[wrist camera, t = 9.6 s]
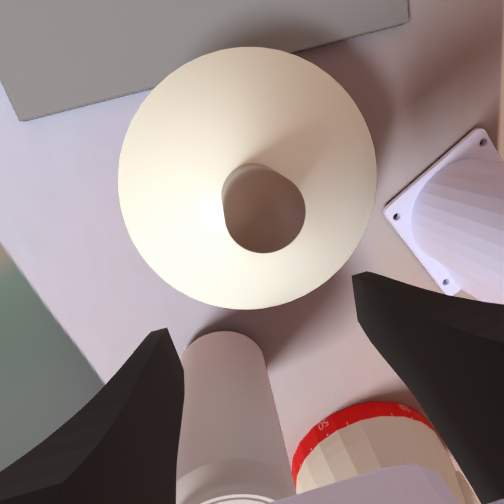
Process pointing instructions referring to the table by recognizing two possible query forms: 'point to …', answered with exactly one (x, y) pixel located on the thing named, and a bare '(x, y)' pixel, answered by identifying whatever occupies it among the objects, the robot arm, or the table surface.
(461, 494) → the kitchen timer
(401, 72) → the table surface
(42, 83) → the mat
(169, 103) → the lid
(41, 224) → the table surface
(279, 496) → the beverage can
